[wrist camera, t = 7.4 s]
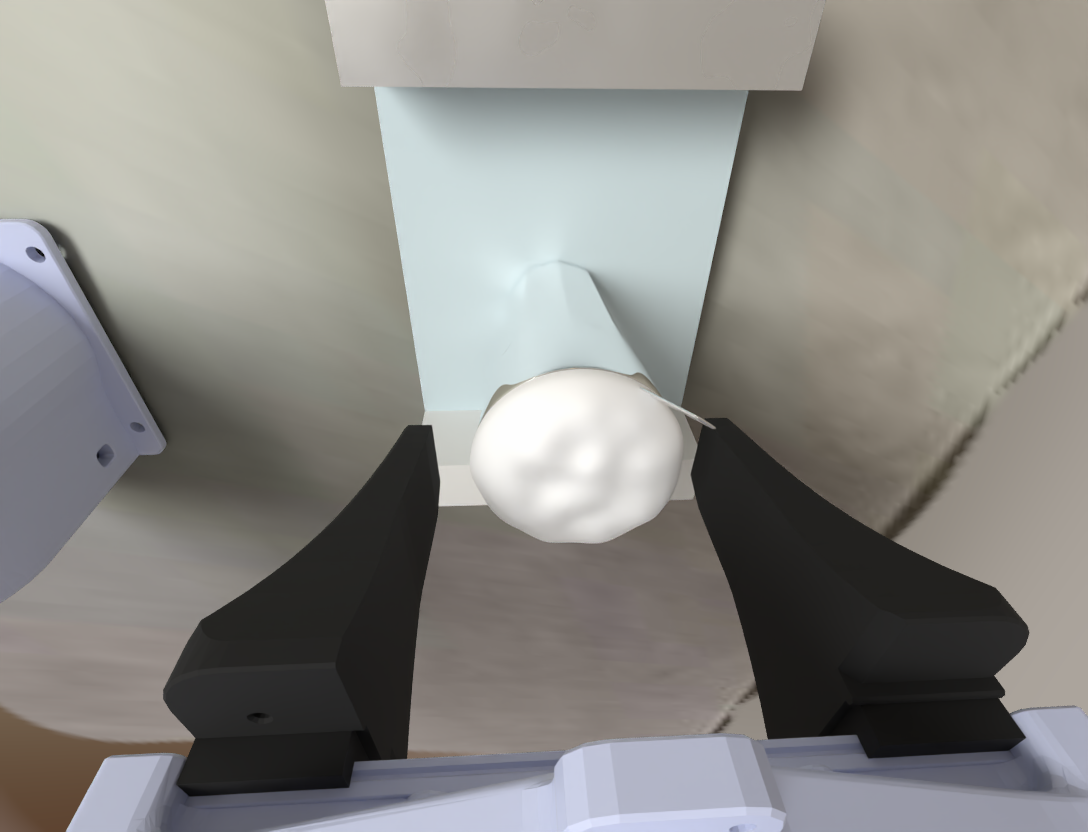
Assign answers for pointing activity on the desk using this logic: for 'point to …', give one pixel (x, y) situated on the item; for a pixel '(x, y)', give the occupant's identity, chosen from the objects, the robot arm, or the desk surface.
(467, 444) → the pale blue stepped plate
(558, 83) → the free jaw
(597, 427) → the milkshake
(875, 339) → the desk surface
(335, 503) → the desk surface
